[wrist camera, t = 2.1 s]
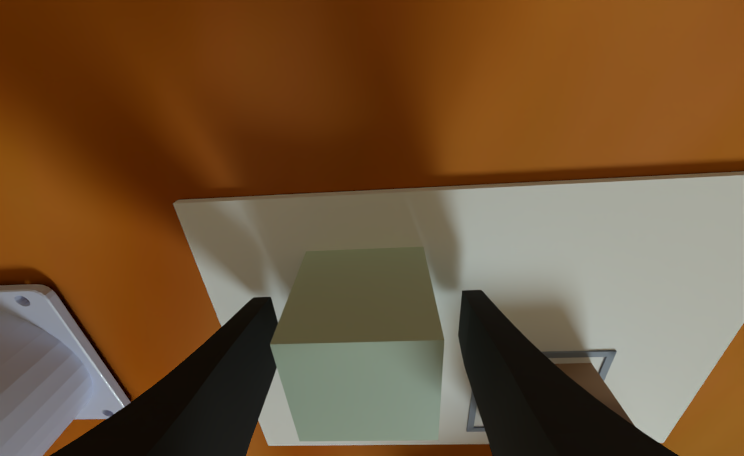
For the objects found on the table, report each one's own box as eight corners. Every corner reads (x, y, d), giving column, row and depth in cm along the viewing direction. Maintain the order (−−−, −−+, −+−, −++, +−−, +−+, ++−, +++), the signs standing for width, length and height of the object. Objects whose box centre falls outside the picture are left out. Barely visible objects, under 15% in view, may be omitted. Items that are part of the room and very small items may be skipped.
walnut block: (483, 420, 15) (514, 530, 12) (493, 365, 13) (533, 475, 10) (568, 420, 15) (627, 531, 11) (591, 362, 13) (668, 475, 10)
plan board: (270, 439, 17) (268, 447, 17) (178, 199, 10) (171, 204, 10) (658, 436, 16) (664, 444, 16) (832, 166, 9) (849, 171, 9)
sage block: (322, 335, 13) (299, 441, 9) (306, 251, 11) (269, 344, 7) (421, 332, 12) (438, 440, 9) (423, 246, 11) (444, 340, 7)
